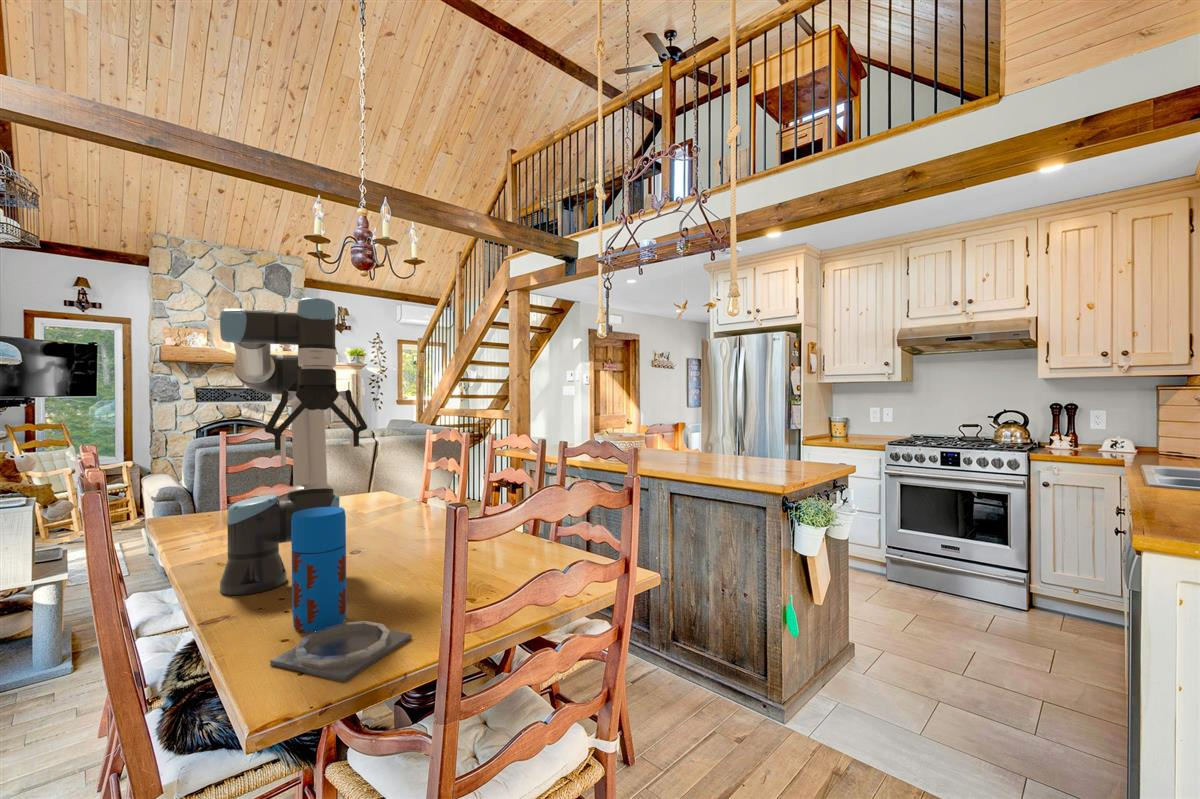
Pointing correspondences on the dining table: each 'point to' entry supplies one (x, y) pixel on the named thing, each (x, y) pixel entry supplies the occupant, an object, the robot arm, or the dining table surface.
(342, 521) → the thermos
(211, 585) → the dining table surface
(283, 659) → the collar dock
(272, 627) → the dining table surface
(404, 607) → the dining table surface
